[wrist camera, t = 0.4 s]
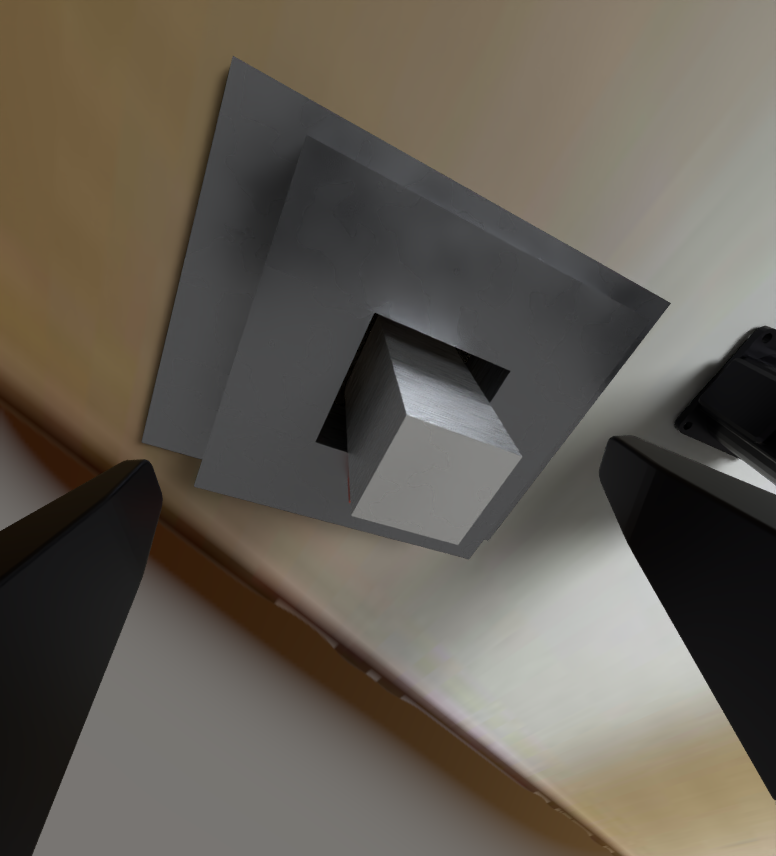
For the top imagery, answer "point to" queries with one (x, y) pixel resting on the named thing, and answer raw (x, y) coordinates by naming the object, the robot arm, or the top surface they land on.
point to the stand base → (365, 308)
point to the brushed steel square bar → (421, 436)
